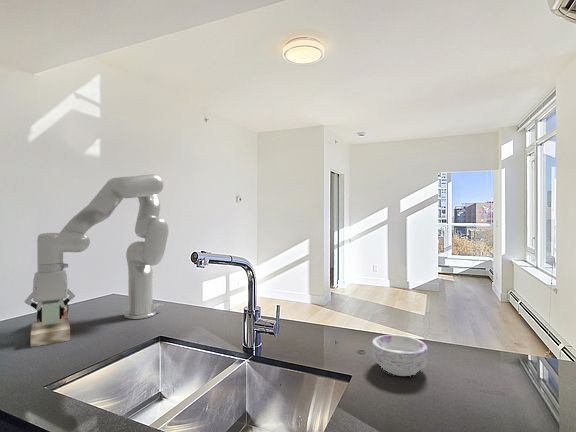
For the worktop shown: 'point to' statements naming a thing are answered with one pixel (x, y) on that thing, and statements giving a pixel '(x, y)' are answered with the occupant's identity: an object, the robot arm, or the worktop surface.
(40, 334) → the riser block
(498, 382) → the worktop surface
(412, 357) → the white round bowl
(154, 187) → the robot arm
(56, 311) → the block
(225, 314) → the worktop surface
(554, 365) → the worktop surface
